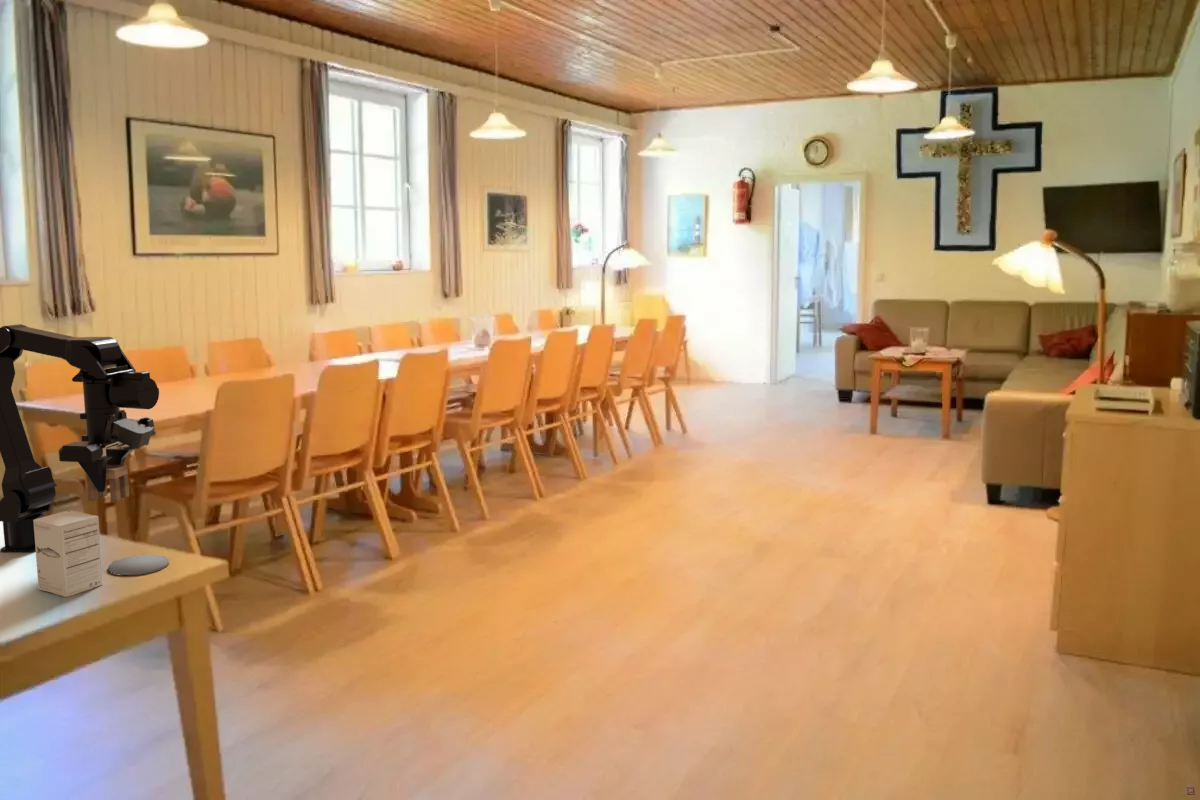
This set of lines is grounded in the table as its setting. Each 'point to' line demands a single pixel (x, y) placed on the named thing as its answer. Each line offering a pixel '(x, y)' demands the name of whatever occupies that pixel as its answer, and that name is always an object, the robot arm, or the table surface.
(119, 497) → the walnut stool
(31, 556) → the table surface
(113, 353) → the robot arm
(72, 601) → the table surface
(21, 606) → the table surface
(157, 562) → the slate mat
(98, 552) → the supplement box
